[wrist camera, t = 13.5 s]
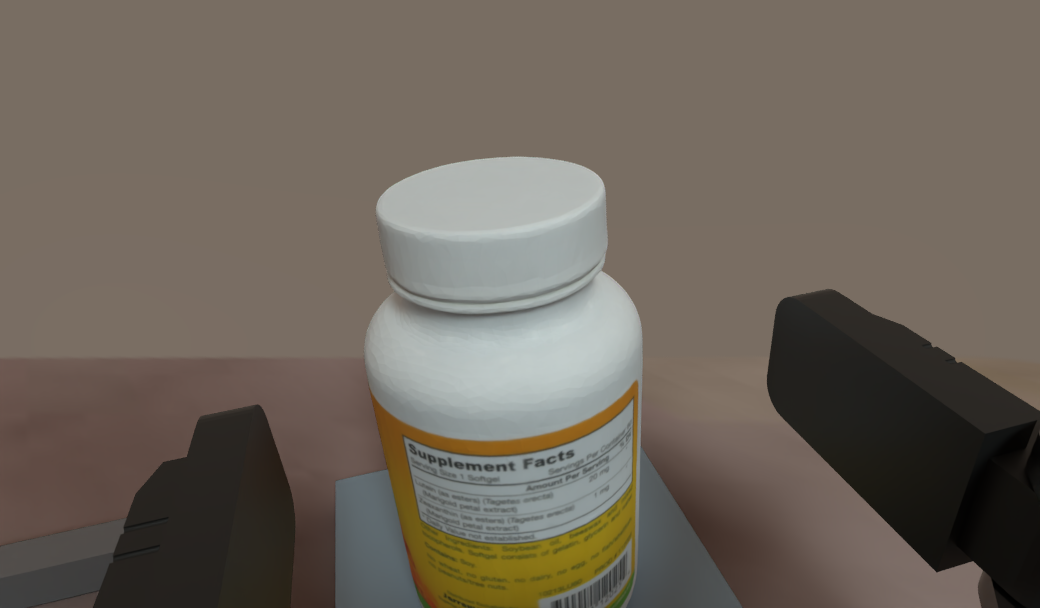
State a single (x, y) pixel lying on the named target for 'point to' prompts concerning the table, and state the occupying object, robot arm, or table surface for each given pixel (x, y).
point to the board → (389, 583)
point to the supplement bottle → (508, 387)
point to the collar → (57, 565)
